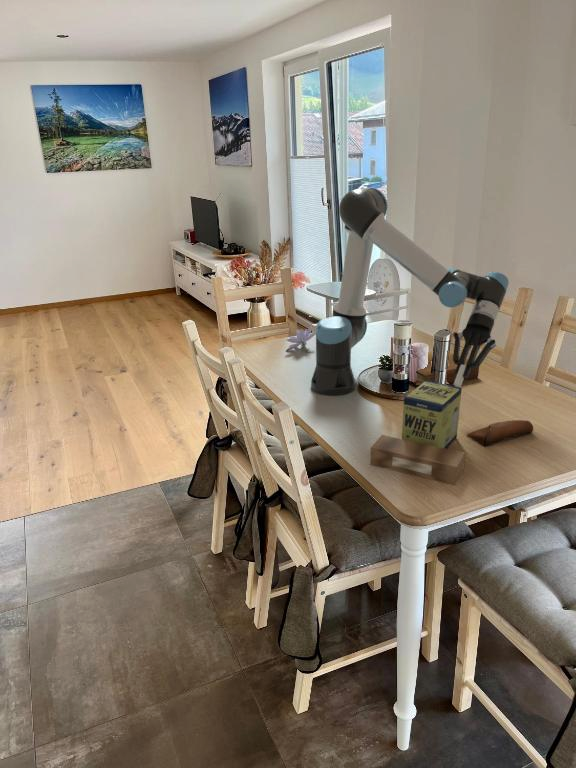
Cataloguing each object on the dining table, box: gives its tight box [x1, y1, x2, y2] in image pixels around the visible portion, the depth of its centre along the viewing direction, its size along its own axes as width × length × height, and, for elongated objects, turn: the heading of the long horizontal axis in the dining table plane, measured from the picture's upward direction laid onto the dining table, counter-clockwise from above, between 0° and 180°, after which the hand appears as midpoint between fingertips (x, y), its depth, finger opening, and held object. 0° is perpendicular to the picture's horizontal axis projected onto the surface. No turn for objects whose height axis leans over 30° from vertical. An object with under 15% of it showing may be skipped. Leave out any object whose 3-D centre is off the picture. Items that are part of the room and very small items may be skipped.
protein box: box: [401, 380, 462, 449], centre depth 160 cm, size 10×16×16 cm
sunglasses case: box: [466, 419, 534, 447], centre depth 166 cm, size 18×7×7 cm
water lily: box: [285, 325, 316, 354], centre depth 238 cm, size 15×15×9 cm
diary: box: [416, 351, 480, 385], centre depth 210 cm, size 23×19×6 cm
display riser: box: [369, 434, 466, 486], centre depth 150 cm, size 22×8×5 cm, turn 61°
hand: (457, 385), depth 174 cm, fingers closed
